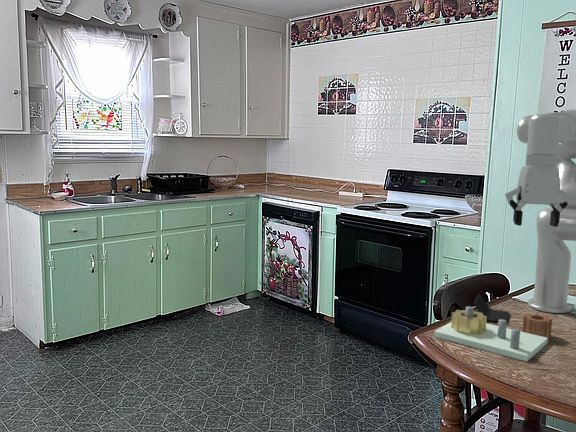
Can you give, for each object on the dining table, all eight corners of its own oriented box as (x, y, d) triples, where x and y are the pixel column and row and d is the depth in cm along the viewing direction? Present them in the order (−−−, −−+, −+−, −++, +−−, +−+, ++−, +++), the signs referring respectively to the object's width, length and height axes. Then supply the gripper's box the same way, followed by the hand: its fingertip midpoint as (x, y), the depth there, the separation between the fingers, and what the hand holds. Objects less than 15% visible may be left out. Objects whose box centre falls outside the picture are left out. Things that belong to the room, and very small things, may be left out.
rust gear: (527, 329, 151) (528, 312, 150) (553, 335, 146) (554, 317, 146) (519, 335, 146) (520, 317, 145) (545, 342, 142) (547, 323, 141)
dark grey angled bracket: (514, 320, 154) (492, 290, 156) (492, 333, 155) (471, 304, 157) (510, 313, 165) (490, 286, 167) (490, 326, 166) (470, 298, 168)
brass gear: (459, 321, 152) (460, 307, 152) (490, 328, 147) (491, 314, 146) (446, 329, 146) (447, 314, 145) (477, 337, 140) (478, 322, 140)
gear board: (459, 321, 156) (461, 296, 155) (547, 343, 141) (549, 315, 140) (433, 336, 145) (435, 309, 144) (526, 361, 129) (529, 331, 128)
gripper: (566, 162, 147) (560, 224, 149) (503, 160, 147) (498, 222, 149) (581, 163, 140) (575, 228, 142) (514, 161, 140) (509, 226, 142)
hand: (535, 225), depth 145 cm, fingers open, 9 cm apart
